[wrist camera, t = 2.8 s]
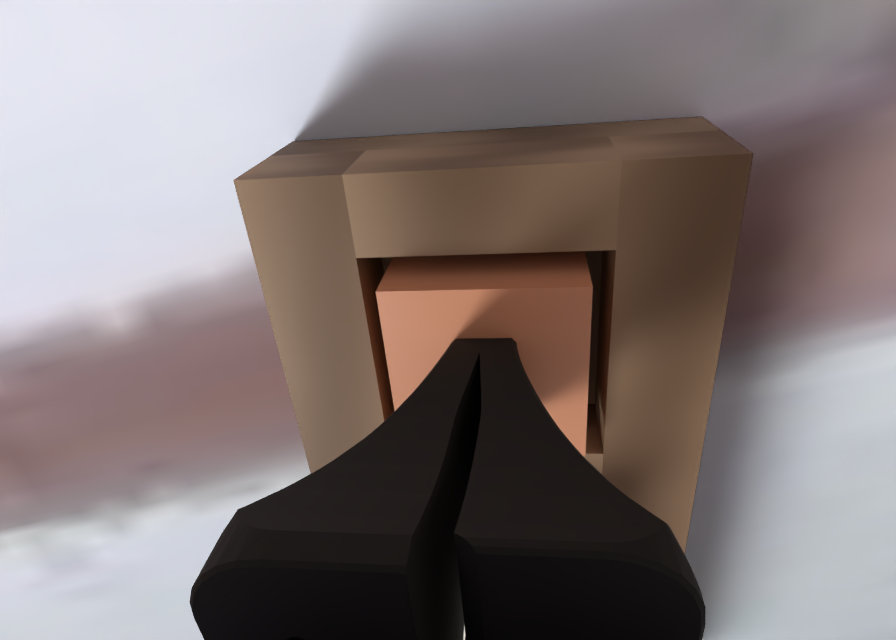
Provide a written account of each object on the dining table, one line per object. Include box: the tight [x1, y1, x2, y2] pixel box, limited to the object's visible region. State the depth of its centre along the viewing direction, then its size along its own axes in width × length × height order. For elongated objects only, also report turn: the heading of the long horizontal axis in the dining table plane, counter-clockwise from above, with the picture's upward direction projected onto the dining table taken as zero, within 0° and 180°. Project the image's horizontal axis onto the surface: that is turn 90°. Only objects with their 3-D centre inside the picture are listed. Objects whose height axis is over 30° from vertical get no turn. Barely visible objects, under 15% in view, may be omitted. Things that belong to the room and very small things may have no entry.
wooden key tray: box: [234, 117, 753, 554], centre depth 18 cm, size 10×22×4 cm, turn 5°
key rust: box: [376, 251, 593, 456], centre depth 14 cm, size 4×4×2 cm
